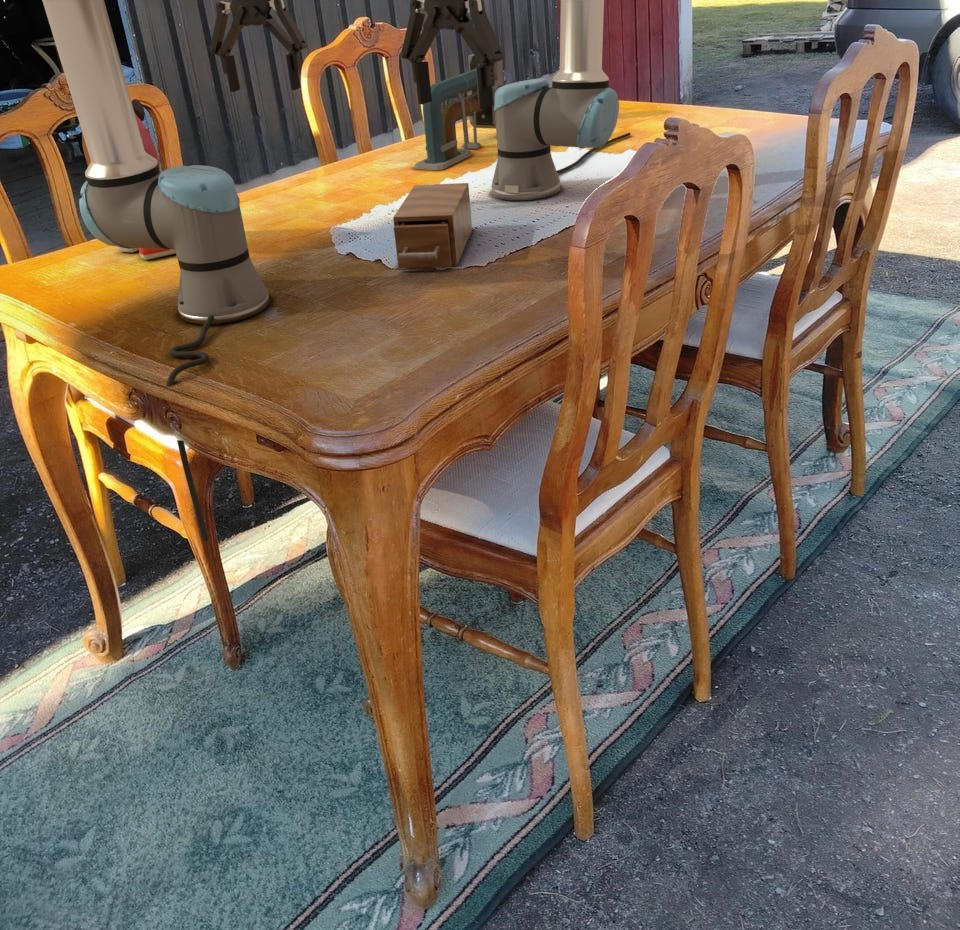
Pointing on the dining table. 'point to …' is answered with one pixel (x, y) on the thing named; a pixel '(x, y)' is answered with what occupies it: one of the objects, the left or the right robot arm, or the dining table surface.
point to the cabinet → (440, 211)
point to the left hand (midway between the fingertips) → (265, 90)
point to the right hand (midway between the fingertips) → (455, 105)
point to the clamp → (456, 116)
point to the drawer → (423, 244)
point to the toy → (151, 150)
